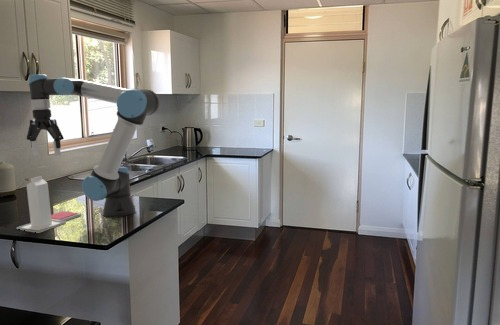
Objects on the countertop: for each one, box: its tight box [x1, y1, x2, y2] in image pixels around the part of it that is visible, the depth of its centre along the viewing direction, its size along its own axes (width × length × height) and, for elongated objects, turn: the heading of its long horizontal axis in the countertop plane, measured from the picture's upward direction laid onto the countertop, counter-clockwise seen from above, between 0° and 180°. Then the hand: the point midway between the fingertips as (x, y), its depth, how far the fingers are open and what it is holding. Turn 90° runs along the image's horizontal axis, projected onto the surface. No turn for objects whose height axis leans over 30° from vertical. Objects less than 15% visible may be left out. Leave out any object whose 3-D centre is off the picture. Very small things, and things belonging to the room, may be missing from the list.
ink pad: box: [51, 210, 82, 222], centre depth 194 cm, size 12×12×2 cm
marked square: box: [16, 220, 67, 234], centre depth 182 cm, size 14×14×1 cm
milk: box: [26, 175, 52, 228], centre depth 181 cm, size 6×6×22 cm
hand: (46, 155), depth 190 cm, fingers open, 13 cm apart
